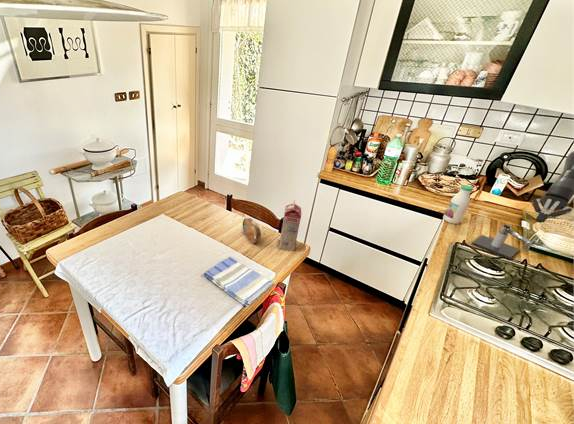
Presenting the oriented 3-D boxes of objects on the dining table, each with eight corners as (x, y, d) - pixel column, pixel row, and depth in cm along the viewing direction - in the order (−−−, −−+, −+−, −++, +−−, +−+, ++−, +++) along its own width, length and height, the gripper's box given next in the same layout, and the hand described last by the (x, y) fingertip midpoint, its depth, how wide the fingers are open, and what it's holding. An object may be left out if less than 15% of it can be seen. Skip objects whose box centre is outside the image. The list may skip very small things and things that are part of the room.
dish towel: (247, 310, 107) (248, 304, 105) (201, 276, 122) (201, 271, 121) (276, 286, 117) (277, 281, 116) (230, 258, 132) (231, 253, 131)
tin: (241, 229, 153) (242, 215, 149) (247, 229, 154) (248, 214, 150) (254, 246, 140) (256, 231, 136) (260, 245, 141) (262, 230, 137)
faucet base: (518, 251, 140) (527, 236, 136) (509, 259, 134) (519, 244, 130) (481, 236, 150) (488, 222, 146) (471, 244, 144) (479, 230, 141)
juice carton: (279, 248, 140) (286, 205, 129) (279, 240, 145) (286, 199, 135) (294, 250, 138) (302, 207, 127) (294, 242, 144) (302, 201, 133)
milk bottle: (457, 218, 166) (474, 185, 156) (461, 225, 160) (479, 190, 150) (441, 215, 169) (456, 182, 159) (444, 222, 162) (460, 188, 153)
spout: (496, 232, 140) (500, 224, 138) (502, 232, 140) (507, 224, 138) (523, 249, 128) (529, 241, 126) (531, 249, 128) (537, 241, 126)
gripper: (543, 180, 136) (520, 211, 136) (587, 191, 127) (562, 224, 126) (540, 188, 141) (518, 218, 141) (581, 199, 132) (558, 231, 132)
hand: (539, 221), depth 134 cm, fingers closed
